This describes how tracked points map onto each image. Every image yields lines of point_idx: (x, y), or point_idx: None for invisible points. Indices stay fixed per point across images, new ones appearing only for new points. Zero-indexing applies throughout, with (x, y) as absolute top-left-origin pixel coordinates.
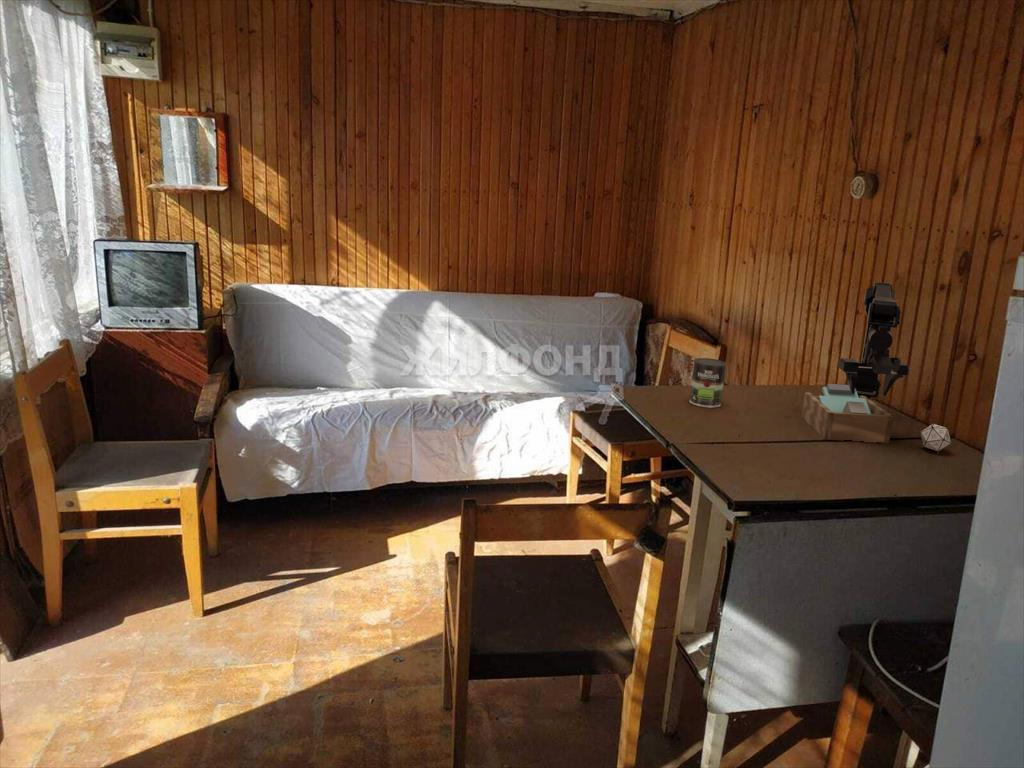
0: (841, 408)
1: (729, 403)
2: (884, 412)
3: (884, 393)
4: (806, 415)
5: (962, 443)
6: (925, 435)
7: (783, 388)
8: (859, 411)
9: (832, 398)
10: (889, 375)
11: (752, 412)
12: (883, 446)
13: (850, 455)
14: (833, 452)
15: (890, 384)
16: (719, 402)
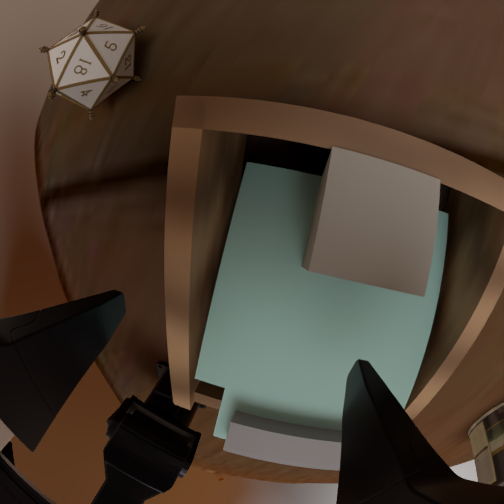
0: (350, 335)
1: (456, 428)
2: (184, 187)
3: (112, 301)
4: None
5: (40, 155)
6: (117, 46)
7: (274, 475)
8: (387, 173)
9: None
10: (5, 396)
11: (468, 393)
12: (275, 76)
13: (450, 22)
14: (489, 59)
15: (34, 320)
16: (493, 415)
